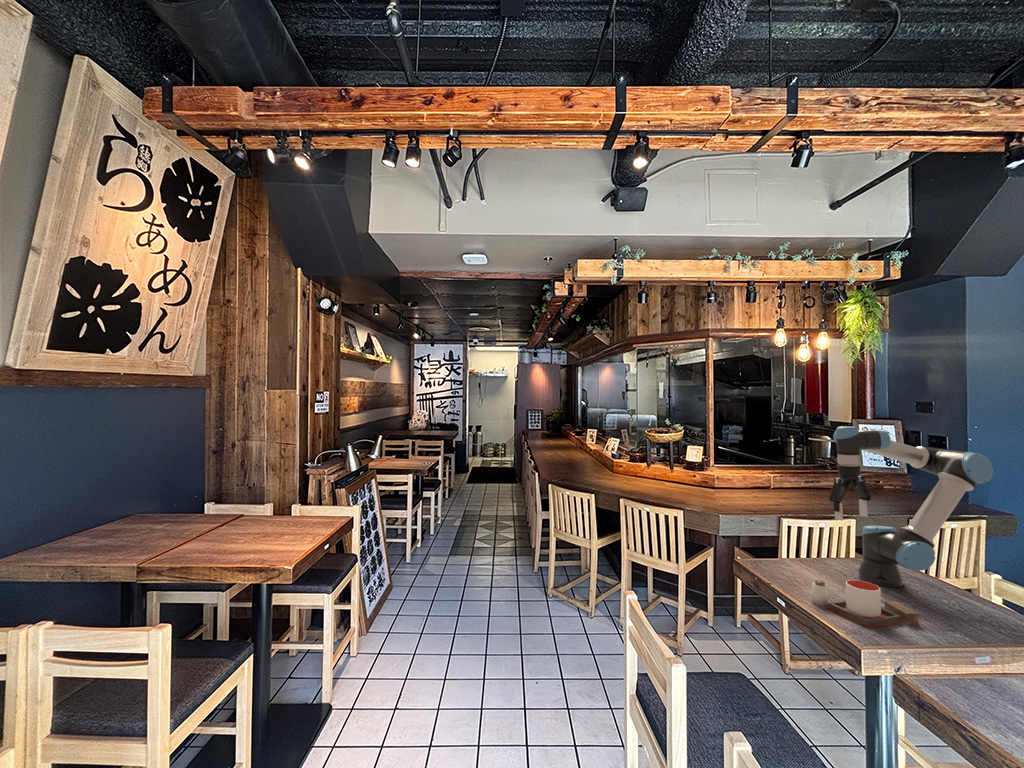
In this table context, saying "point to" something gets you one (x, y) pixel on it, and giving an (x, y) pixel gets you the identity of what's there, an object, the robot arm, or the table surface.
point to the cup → (863, 598)
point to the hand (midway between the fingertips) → (851, 518)
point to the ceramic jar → (820, 593)
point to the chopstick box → (903, 612)
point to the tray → (883, 620)
